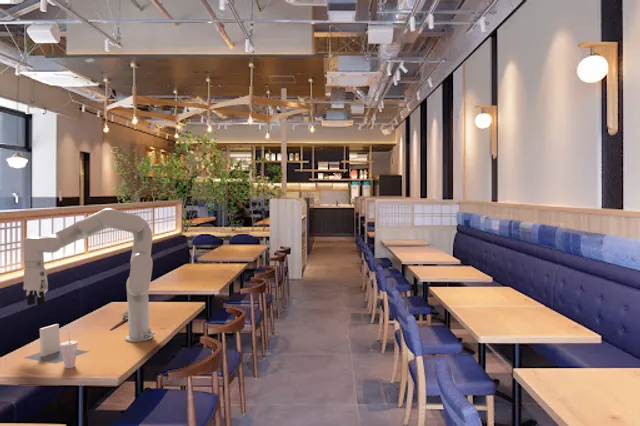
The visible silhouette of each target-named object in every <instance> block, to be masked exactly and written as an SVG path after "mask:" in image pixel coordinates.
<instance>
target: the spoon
mask: <svg viewBox="0 0 640 426" xmlns="http://www.w3.org/2000/svg"><path fill="white" fill-rule="evenodd" d="M121 317H124V319H123V320H121V321H120V322H119V323H117V324H115V325H114V326H112V328H110V329H109V331H110V330H111V331H113V330H115V329H118V328H119V327H120V326H121V324H122V325H123V324H124V323H125V322H126V321H128V311H125V312H122V313H121ZM118 326H119V327H118Z"/></svg>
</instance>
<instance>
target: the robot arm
mask: <svg viewBox="0 0 640 426" xmlns="http://www.w3.org/2000/svg"><path fill="white" fill-rule="evenodd" d="M108 228H110V229H111V228H112V229H115V230H119V231H122V232H128V233H130V234H132V235H133V244H132V250H131V255H130V256H131V257H130V261H129V262H130V263H129V264H130V271H129V276H128V278H127V280H126V285H125V286H126V298H127V299H126V300H127V312H128V320H127V323H128V324H127V325H128V327H127V328H128V335H126V336H125V341H126V342H129V343H137V342H138V343H139V342H145V341H149V340H150V339H153V337H154V336H155V335H156V331H152V328H151V327H150V309H149V307H150V306H149V305H150V304H149V301H150V300H149V291H150V287H151V280H152V273H153V264H154V263H153V258H152V256H151V255H152V248H153V247H152V246H153V232H152V228H151V226H150V225H149V223H148V222H147V221H146V220H145V219H144V218H143V217H142V216H140V215H138V214H134V213H130V212H125V211H121V210H117V209H115V208H111V207H107V208H106V207H105V208H104V209H101V210H99V211H98V212H97V211H96V212H95V213H92V214H91V215H88V216H86V217H84V218H81V219H80V220H77V221H76V222H74V223H73V224H71V225H69V226H67V227H65V228H63V229H61V230H58V231H56V232H54V233H52V234H50V235H48V236H42V237H41V236H27V237H25V238H23V241H22V243H23V247H22V248H23V260H24V261H23V262H24V263H23V265H24V266H23V267H24V270H23V286H22V289H23V291H24V292H25V296H26V302H27V306H31V305H35V304H36V306H37V307H42V306H45V302H46V301H45V296H46V294H47V292H48V290H49V288H48V287H49V283H48V274H47V270H46V267H45V259H44V258H45V257H44V256H45V255H44V254H45V253H51V254H52V253H57V252H60V250H61V249H62V248H65V247H66V246H68V245H71V244H73V243H75V242H77V241H80V240H85V239H87V238H90V237H92V236H93V235H96V234H97V233H98V234H99V232H101V231H104V230H106V229H108ZM35 292H36V294H37V297H36V295H35Z"/></svg>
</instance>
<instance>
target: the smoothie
mask: <svg viewBox="0 0 640 426" xmlns="http://www.w3.org/2000/svg"><path fill="white" fill-rule="evenodd" d="M67 336H68V340H67V341H63V342H61V343H60V347H61V350H62V356H63V361H62V362H63V364H64V365H63V366H64V369H71V368H72V369H73V368H74V367H75V366H76V357H77V356H76V350H78V349H77V347H78V343H79V342H78V341H77V340H71V332H70V331H68V333H67Z"/></svg>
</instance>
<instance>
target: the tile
mask: <svg viewBox="0 0 640 426" xmlns="http://www.w3.org/2000/svg"><path fill="white" fill-rule="evenodd" d="M60 344H61V343H60V324H59V323H55V324H52V325H48V326H44V327H41V328H39V346H40V348H39V349H40V352H41V356H43V357H44V356H47V355H50V354H53V353H55V352H58V351H60Z"/></svg>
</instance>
